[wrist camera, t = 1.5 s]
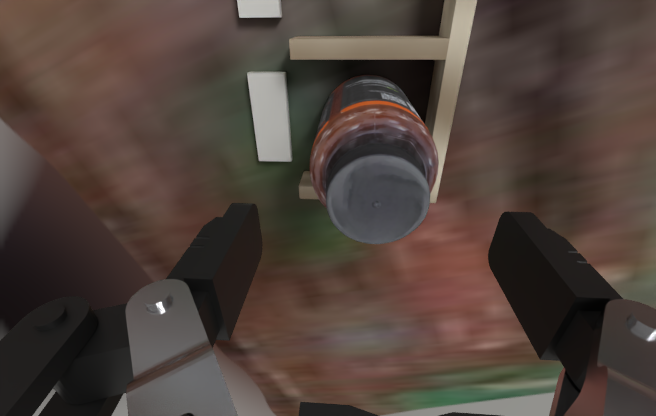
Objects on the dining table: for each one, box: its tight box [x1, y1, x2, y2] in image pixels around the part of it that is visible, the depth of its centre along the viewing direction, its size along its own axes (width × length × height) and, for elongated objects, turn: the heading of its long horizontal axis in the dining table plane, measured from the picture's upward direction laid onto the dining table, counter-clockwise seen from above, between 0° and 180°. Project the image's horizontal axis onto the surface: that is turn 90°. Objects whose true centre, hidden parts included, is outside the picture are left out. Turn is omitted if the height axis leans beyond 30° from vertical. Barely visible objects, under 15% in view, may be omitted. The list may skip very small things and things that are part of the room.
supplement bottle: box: [310, 75, 439, 244], centre depth 17 cm, size 6×6×11 cm
